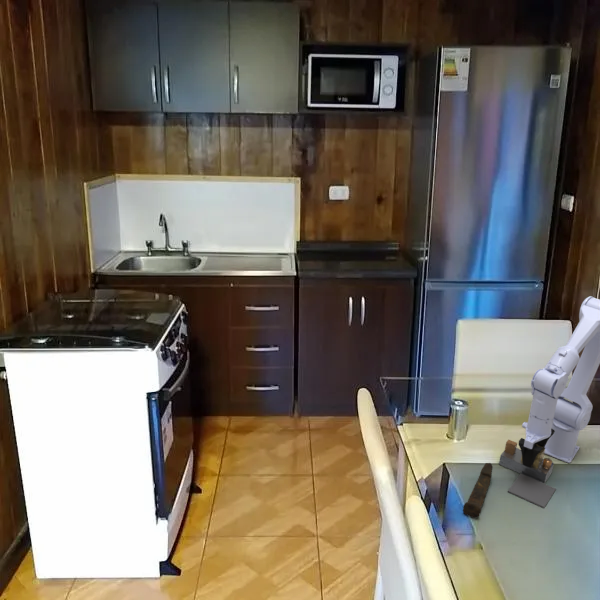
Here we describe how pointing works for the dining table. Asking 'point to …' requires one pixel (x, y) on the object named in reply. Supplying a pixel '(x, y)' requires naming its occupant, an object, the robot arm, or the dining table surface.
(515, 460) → the body
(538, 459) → the tan cube
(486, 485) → the hand tool
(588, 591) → the dining table surface
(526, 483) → the mat
